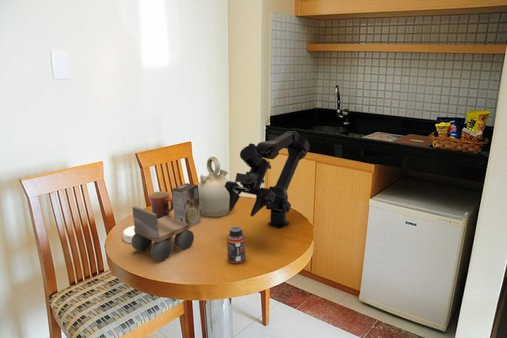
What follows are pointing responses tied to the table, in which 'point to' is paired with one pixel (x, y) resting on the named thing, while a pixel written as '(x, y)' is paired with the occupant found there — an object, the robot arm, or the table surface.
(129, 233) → the coaster
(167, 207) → the mug
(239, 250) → the supplement bottle
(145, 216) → the trolley
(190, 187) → the coffee box
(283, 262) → the table surface
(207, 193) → the jug
